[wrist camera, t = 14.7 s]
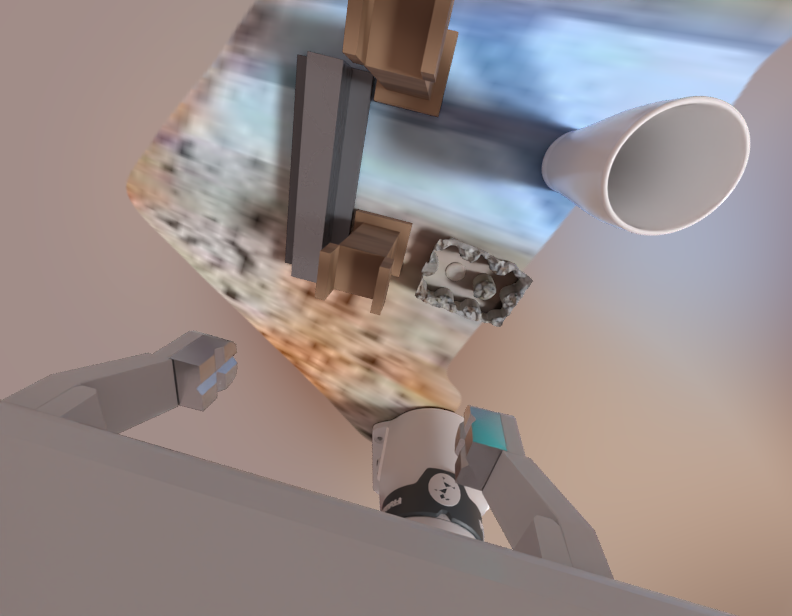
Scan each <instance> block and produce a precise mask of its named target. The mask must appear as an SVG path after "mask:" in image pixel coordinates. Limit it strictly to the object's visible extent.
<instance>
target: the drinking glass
mask: <svg viewBox="0 0 792 616" xmlns="http://www.w3.org/2000/svg"><path fill="white" fill-rule="evenodd" d="M749 152H750V134H749V130H748V127H747V124H746V122H745V120H744V118H743V116H742V115H741V114H740V112H739V111H738V110H737V109H736V108H734V107H733V106H732V105H730V104H729V103H727V102H725V101H723V100H720V99H717V98H713V97H706V96H693V97H685V98H678V99H671V100H665V101H660V102H655V103H650V104H646V105H642V106H639V107H635V108H632V109H629V110H626V111H623V112H621V113H618V114H616V115H613V116H611V117H608V118H606V119H604V120H601V121H599V122H596V123H594V124H591V125H589V126H587V127H584V128H582V129H579V130H574V131H570V132H568V133H565V134H563V135H562V136H560V137H559V138H557V139H556V140H555V141H554V142H553V143H552V144H551V145H550V147H549V148H548V150H547V151H546V153H545V156H544V158H543V162H542V176H543V179H544V181H545V183H546V184H547V186H548V187H549V188H551V189H552V190H553V191H555V192H557V193H560V194H561V195H563V196H564V197H566V198H567V199H568V200H570V201H571V202H573V203H574V204H575V205H577V206H578V207H579V208H581V209H582V210H583V211H585V212H586V213H588V214H589V215H591V216H593V217H594V218H596V219H598V220H600V221H602V222H604V223H606V224H609V225H611V226H614V227H617V228H620V229H623V230H626V231H629V232H632V233H635V234H640V235H663V234H668V233H673V232H676V231H679V230H682V229H684V228H687V227H689V226H691V225H693V224H695V223H697V222H699V221H700V220H702V219H703V218H705V217H706V216H708V215H709V214H710V213H711V212H713V211H714V210H715V209H716V208H718V207H719V206H720V205H721V204H722V203H723V202H724V201H725V200H726V198H727V197H728V196H729V195H730V194H731V192H732V191H733V190H734V188H735V187H736V185H737V184H738V182H739V180H740V179H741V177H742V175H743V172H744V170H745V167H746V165H747V161H748V158H749Z"/></svg>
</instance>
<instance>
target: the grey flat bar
mask: <svg viewBox="0 0 792 616" xmlns="http://www.w3.org/2000/svg"><path fill="white" fill-rule="evenodd" d="M306 66H307V57H306V56H302V55H297V72H296V89H295V105H294V122H293V139H292V156H291V172H290V189H289V206H288V223H287V239H286V256H285V263H289V264H292V260H293V246H294V232H295V218H296V204H297V191H298V177H299V163H300V149H301V135H302V122H303V108H304V94H305V80H306ZM373 82H374V76H373V75H372V74H371V72H367V71H362V70H358V69H354V68H353V72H352V80H351V88H350V96H349V103H348V111H347V119H346V127H345V135H344V142H343V150H342V158H341V166H340V174H339V181H338V189H337V197H336V205H335V212H334V220H333V228H332V236H331V243H334V244H337V245H339V244H340V243H341V242H342V241H344V240H345V239H346V238H347V237H348V236H349V235H350V231H351V224H352V218H353V211H354V205H355V199H356V192H357V186H358V179H359V173H360V166H361V160H362V153H363V147H364V140H365V134H366V127H367V121H368V114H369V108H370V101H371V95H372V88H373Z"/></svg>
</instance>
